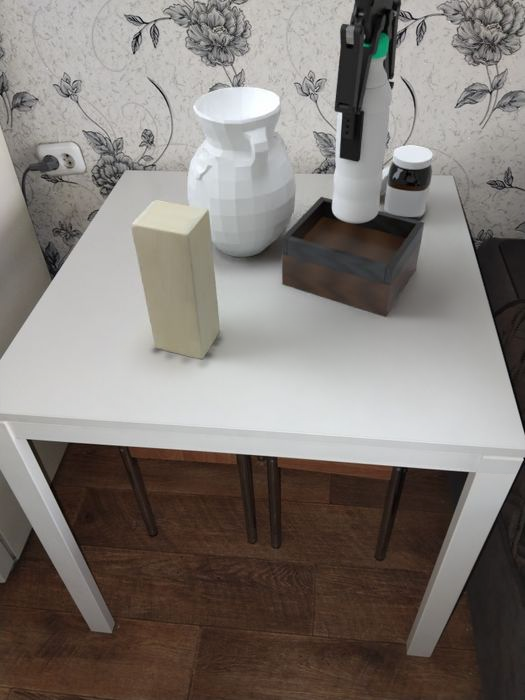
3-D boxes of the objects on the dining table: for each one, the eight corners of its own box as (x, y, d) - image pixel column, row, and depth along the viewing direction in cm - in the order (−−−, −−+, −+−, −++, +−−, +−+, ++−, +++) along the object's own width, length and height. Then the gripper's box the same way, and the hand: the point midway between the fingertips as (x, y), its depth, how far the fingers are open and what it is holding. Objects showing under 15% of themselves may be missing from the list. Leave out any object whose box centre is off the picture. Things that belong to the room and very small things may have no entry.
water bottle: (324, 206, 92) (332, 29, 74) (366, 197, 93) (383, 22, 76) (342, 229, 87) (355, 46, 69) (386, 220, 88) (409, 38, 71)
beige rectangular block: (223, 328, 90) (211, 205, 75) (204, 360, 85) (186, 235, 70) (176, 317, 92) (155, 196, 77) (154, 348, 87) (127, 225, 72)
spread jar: (421, 228, 108) (432, 169, 100) (360, 220, 110) (365, 161, 102) (429, 196, 116) (439, 139, 108) (371, 189, 119) (377, 132, 111)
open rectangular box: (416, 268, 99) (424, 222, 93) (385, 317, 90) (392, 269, 84) (319, 241, 106) (321, 196, 99) (282, 284, 97) (281, 237, 91)
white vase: (314, 253, 103) (319, 110, 86) (217, 283, 98) (201, 137, 80) (268, 205, 115) (264, 71, 98) (179, 229, 110) (158, 92, 93)
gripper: (379, -66, 74) (363, 116, 90) (308, -31, 62) (304, 172, 78) (437, -62, 71) (410, 125, 87) (375, -25, 59) (357, 184, 75)
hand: (360, 147), depth 83 cm, fingers closed on water bottle, 7 cm apart
